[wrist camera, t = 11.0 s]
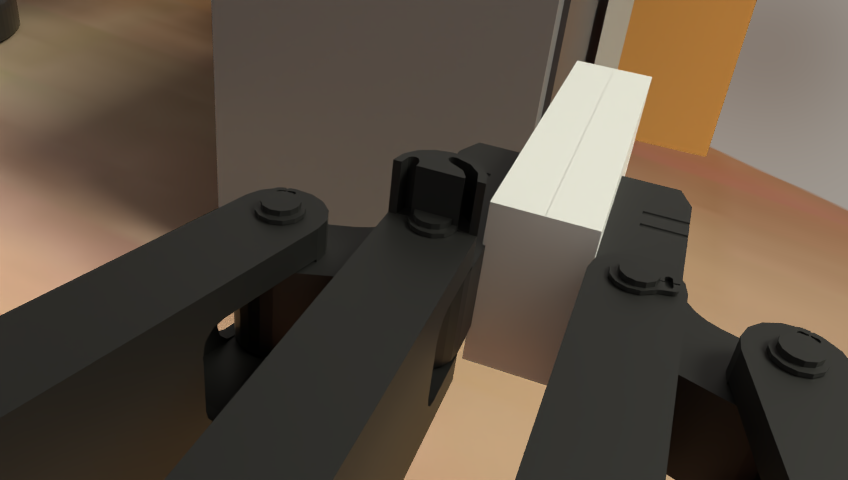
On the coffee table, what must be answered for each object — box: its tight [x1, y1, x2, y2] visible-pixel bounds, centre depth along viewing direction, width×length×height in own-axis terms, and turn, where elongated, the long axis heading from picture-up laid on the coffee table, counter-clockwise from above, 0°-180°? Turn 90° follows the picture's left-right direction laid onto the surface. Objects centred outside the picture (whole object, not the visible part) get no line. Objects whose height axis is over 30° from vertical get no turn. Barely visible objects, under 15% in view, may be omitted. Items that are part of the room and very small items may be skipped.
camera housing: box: [211, 0, 609, 227], centre depth 34 cm, size 14×20×19 cm
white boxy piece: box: [594, 0, 757, 157], centre depth 37 cm, size 6×12×13 cm, turn 160°
